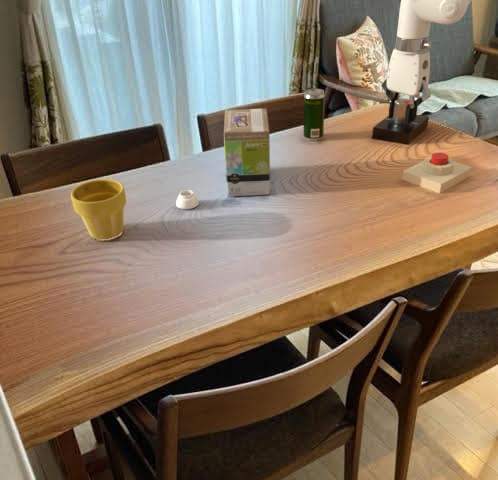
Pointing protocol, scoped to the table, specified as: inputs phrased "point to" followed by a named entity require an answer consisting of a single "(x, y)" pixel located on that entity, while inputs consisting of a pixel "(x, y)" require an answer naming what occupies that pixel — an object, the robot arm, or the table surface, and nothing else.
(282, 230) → the table surface
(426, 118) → the hob
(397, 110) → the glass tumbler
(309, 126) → the beer can
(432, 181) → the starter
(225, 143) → the tea box
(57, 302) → the table surface
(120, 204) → the flower pot
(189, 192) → the lidless jar
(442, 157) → the button
